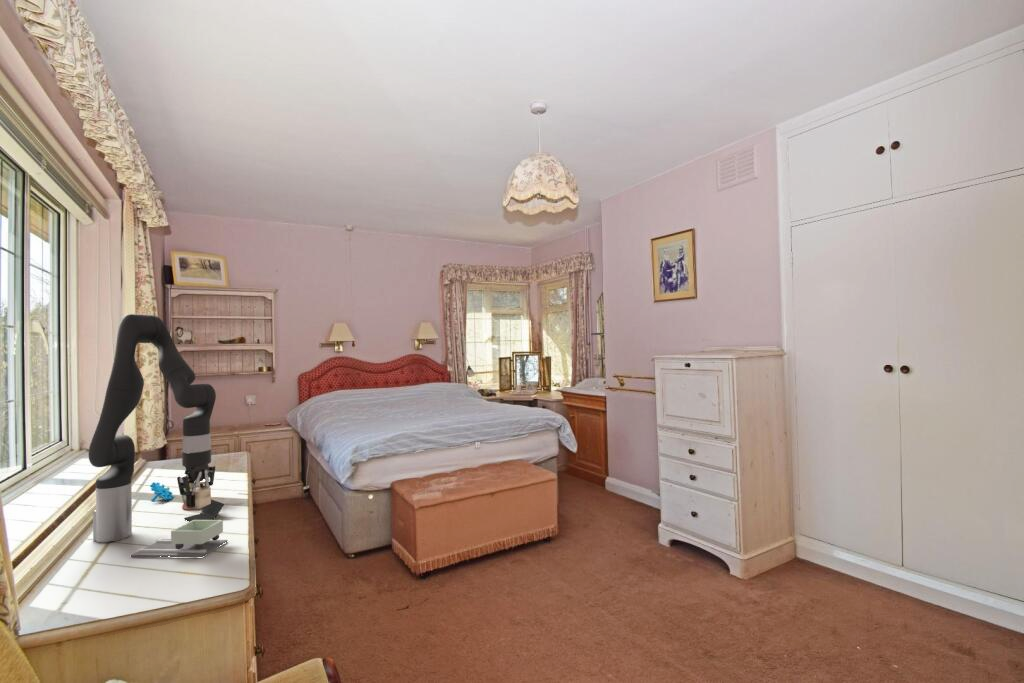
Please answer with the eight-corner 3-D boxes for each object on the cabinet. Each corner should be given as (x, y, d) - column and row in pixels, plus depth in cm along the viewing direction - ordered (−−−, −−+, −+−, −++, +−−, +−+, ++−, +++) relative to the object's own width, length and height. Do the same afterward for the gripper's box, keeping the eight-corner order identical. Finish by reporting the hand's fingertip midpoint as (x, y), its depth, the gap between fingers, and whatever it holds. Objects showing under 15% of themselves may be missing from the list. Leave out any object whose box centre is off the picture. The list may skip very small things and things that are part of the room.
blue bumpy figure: (166, 499, 200) (148, 482, 200) (154, 511, 198) (135, 494, 198) (180, 495, 210) (162, 479, 210) (168, 506, 209) (151, 490, 209)
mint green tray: (171, 550, 148) (171, 531, 148) (194, 538, 158) (193, 519, 158) (201, 550, 147) (201, 531, 147) (222, 538, 157) (222, 520, 157)
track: (130, 557, 148) (130, 552, 148) (161, 541, 160) (161, 537, 160) (201, 558, 146) (201, 553, 146) (227, 542, 158) (227, 537, 158)
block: (183, 508, 150) (183, 492, 150) (195, 503, 155) (195, 487, 155) (199, 508, 150) (199, 492, 150) (210, 503, 155) (210, 487, 155)
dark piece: (178, 517, 178) (197, 491, 183) (193, 524, 183) (211, 498, 189) (197, 526, 173) (216, 499, 178) (212, 533, 178) (230, 507, 183)
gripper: (201, 444, 160) (201, 497, 160) (167, 454, 146) (168, 512, 146) (223, 444, 160) (224, 497, 159) (191, 454, 145) (192, 512, 145)
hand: (197, 504), depth 153 cm, fingers closed on block, 5 cm apart
